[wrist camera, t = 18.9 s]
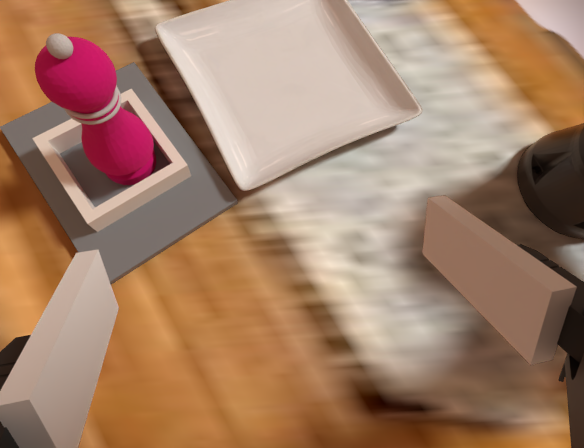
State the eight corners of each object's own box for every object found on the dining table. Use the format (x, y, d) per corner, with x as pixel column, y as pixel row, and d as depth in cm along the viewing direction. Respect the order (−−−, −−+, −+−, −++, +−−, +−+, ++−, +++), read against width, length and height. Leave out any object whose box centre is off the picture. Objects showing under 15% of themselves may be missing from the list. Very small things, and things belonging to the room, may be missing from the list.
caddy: (135, 67, 53) (127, 45, 49) (237, 203, 49) (236, 190, 45) (4, 131, 48) (-17, 112, 45) (103, 288, 44) (90, 283, 40)
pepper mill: (85, 162, 47) (-22, 35, 28) (132, 125, 49) (62, -16, 30) (127, 201, 46) (46, 96, 27) (173, 161, 48) (127, 39, 30)
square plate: (416, 126, 56) (428, 110, 52) (241, 204, 49) (240, 192, 45) (323, -11, 62) (327, -34, 58) (156, 42, 55) (150, 20, 52)
